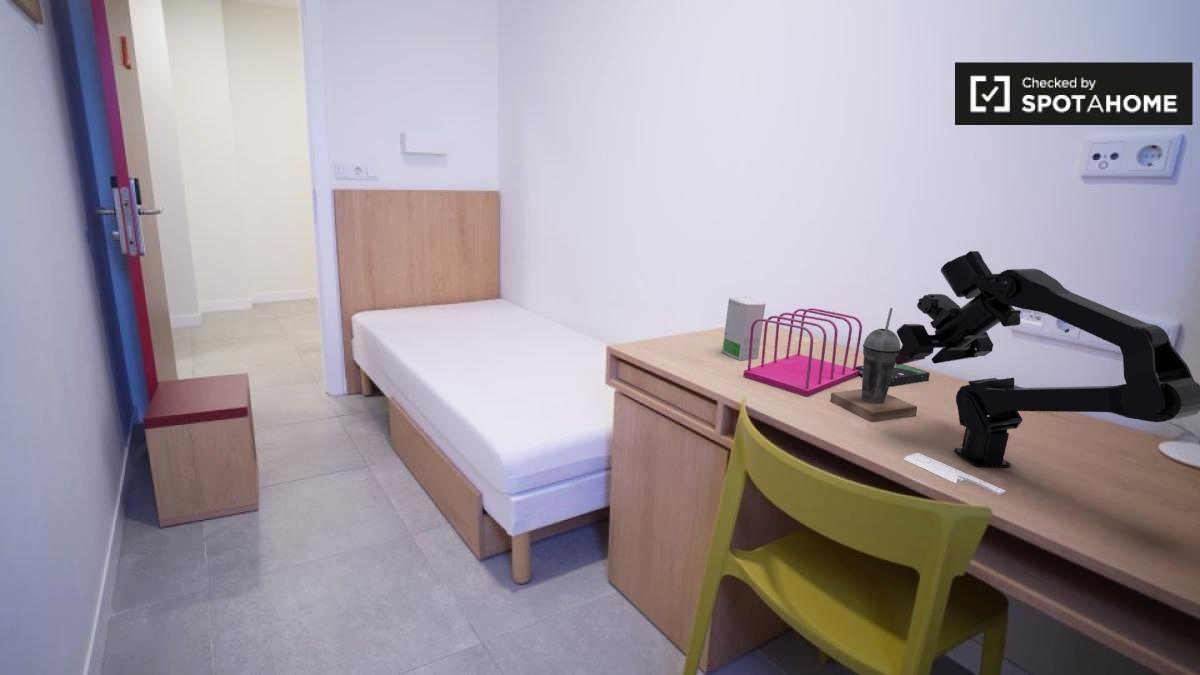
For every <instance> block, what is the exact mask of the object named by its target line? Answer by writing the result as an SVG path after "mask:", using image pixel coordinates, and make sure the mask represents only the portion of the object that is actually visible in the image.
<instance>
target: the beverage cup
mask: <svg viewBox="0 0 1200 675" xmlns="http://www.w3.org/2000/svg"><path fill="white" fill-rule="evenodd" d="M893 309H894V308H892V307H889V312H888V314H887V315H888V316H887V319H886V324H885V328H877V329H874V330H873V331H871V332H869V334H868V335H866V337H865V339H864V341H863V344H862V348H863V349H862V351H863V352H862V353H863V355H862V356H863V365H862V366H863V378H862V379H861V380H862V383H861V389H862V399H863V400H864V401H867V402H870V403H877V404H880V403H884V402H885V398H886V395H887V394H888V392H889V388H890V387H889V385H890V381H891V377H892V373H893V370H894V366H895V359H896V357H897V355H898V353H899V351H900V349H901V341H900V339H899V336H898V334H897V333H896V332H893V331H892V330H890V329H889V326H890V321H891V316H892V314H893Z"/></svg>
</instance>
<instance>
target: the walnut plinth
mask: <svg viewBox="0 0 1200 675" xmlns="http://www.w3.org/2000/svg"><path fill="white" fill-rule="evenodd" d="M830 402H831V403H833V404H835V405H837V406H838V407H841V408H843V409H845V410H847V411H849V412H852V414H855V415H857V416H859V417H861V418H863V419H865V420H867V421H869V422H871V423H873V422H874V423H875V422H879V421H881V422H882V421H886V420H887V421H888V420H894V419H902V418H907V417H915V416H917V412H918V406H916V405H914V404H913V403H912V404H911V403H910V402H907V401H905V400H903V399H901V398H898V397H895V396H893V395H891V394H889V393H887V395H886V398H885V402H884V403H880V404H877V403H870V402H867V401H864V400H863V399H862V388H859V389H853V390H844V391H843V390H842V391H834V392H831V393H830Z"/></svg>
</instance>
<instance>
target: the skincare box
mask: <svg viewBox="0 0 1200 675" xmlns="http://www.w3.org/2000/svg"><path fill="white" fill-rule="evenodd" d="M727 302H728V304H727V312H726V319H725V326H724V327H725V328H724V336H723V343H722V350H721V351H722V353H723V352H724V354H725V353H726V355H727V354H728V356H729V355H730V357H731V356H732V358H734V359H736V360H738V361H740V360H741V361H746V360H745V359H749V346H750V334H751V326H752V324H753V322H754V321H755V320H757V319H765V318H764V317H765V310H766V303H764V302H761V301H758V300H756V299H753V298H751V297H747V296H741V297H738V296H737V297H729V298H728V301H727ZM763 324H764V321H758V322H757V323H756V324H755V326H754V331H753V343H752V357H751V360H755V359H754V358H759V354H760V353H759V352H760V344H761V339H762V338H761V337H762V332H763Z"/></svg>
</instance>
